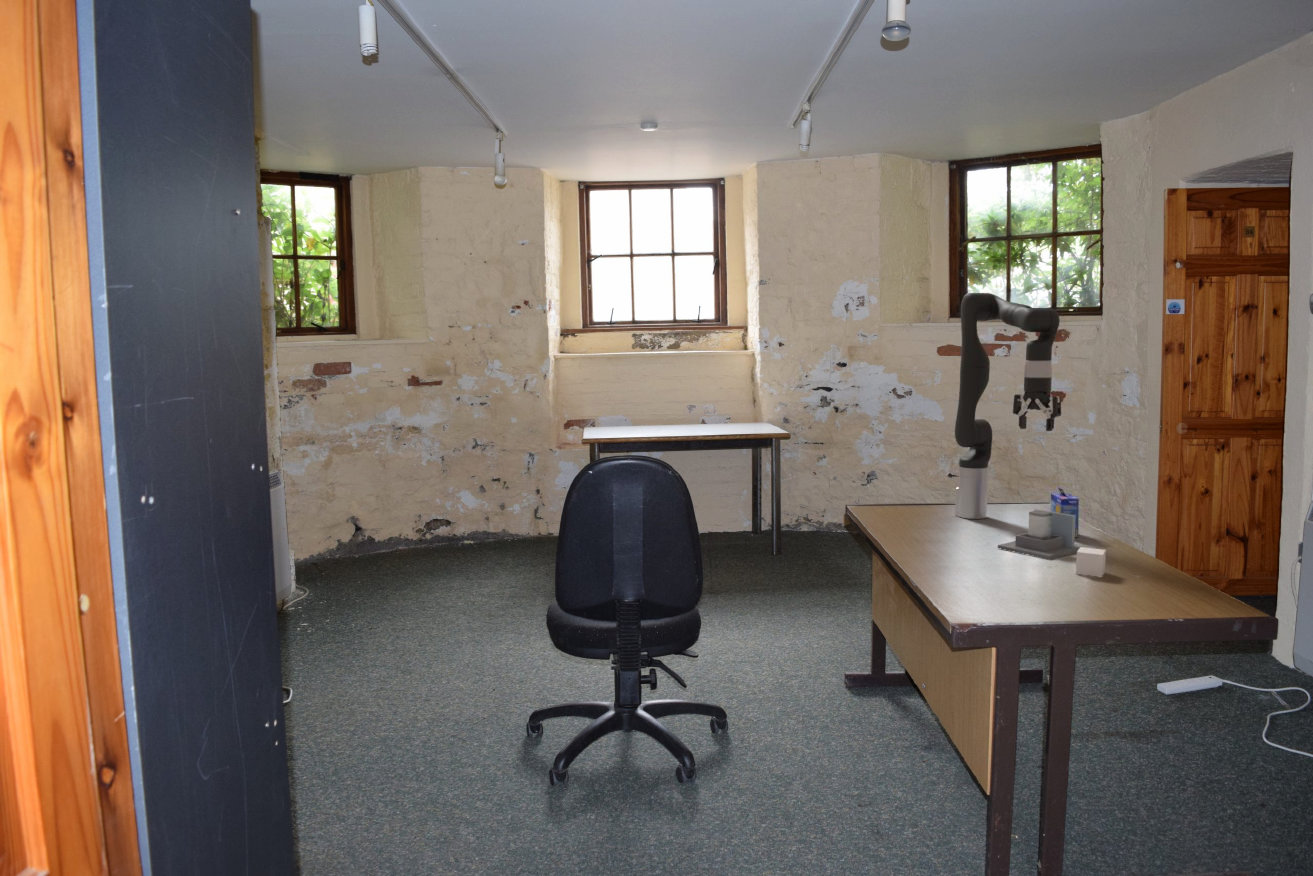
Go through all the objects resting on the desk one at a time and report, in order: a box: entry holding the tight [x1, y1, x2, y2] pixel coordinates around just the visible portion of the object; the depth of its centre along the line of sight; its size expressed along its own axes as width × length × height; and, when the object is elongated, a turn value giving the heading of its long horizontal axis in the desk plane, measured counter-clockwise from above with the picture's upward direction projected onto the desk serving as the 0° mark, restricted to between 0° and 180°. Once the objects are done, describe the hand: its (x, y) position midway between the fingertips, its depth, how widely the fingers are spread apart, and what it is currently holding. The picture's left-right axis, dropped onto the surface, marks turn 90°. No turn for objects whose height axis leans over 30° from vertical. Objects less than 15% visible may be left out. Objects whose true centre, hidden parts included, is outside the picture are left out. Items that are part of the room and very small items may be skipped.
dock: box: [997, 508, 1081, 560], centre depth 249 cm, size 16×16×10 cm
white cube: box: [1075, 546, 1107, 578], centre depth 225 cm, size 6×6×6 cm
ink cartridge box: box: [1050, 487, 1080, 538], centre depth 268 cm, size 10×6×14 cm, turn 174°
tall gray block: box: [1027, 509, 1052, 541], centre depth 249 cm, size 4×4×10 cm
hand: (1035, 429), depth 261 cm, fingers open, 8 cm apart
